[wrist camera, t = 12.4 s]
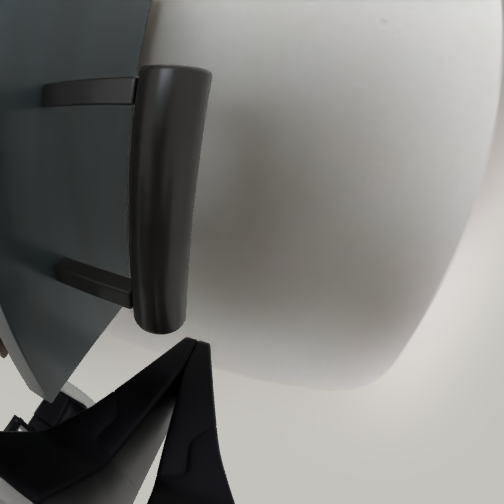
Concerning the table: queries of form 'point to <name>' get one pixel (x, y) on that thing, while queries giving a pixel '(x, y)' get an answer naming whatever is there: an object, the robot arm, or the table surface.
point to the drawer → (90, 181)
